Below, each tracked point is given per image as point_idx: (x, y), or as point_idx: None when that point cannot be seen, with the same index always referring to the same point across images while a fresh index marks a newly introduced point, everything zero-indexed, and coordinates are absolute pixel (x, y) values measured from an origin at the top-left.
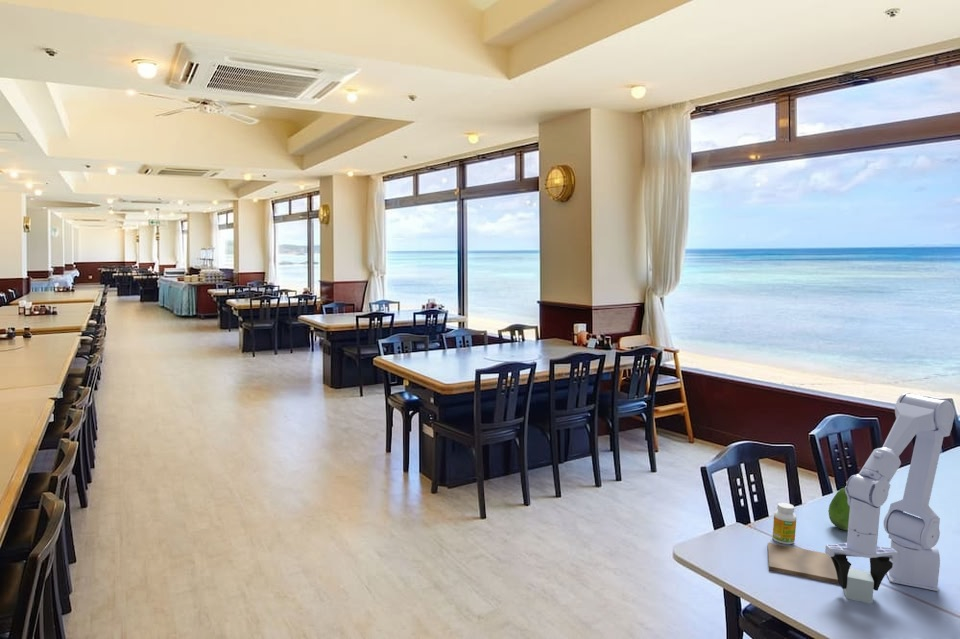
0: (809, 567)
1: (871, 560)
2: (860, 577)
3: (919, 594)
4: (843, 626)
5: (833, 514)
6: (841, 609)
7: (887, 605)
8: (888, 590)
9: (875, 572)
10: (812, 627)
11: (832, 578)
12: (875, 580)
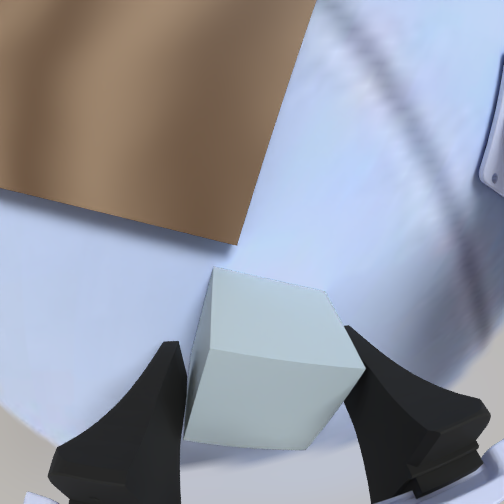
0: (72, 105)
1: (401, 429)
2: (256, 435)
3: (501, 257)
4: None
5: None
6: None
7: None
8: (429, 248)
9: (366, 419)
10: None
11: (168, 226)
12: (348, 395)
